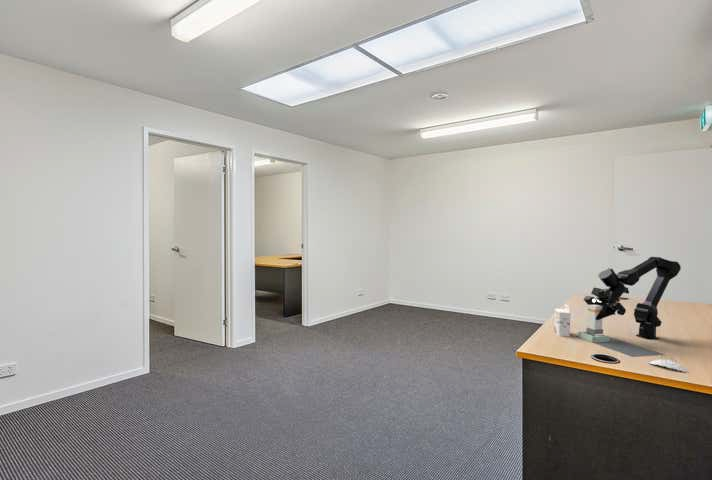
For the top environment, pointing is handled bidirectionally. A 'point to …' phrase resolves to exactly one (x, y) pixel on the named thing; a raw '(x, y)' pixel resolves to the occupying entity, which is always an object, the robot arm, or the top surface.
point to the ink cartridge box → (562, 321)
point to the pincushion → (669, 364)
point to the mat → (626, 348)
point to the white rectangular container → (594, 320)
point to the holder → (593, 337)
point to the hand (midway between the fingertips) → (592, 318)
